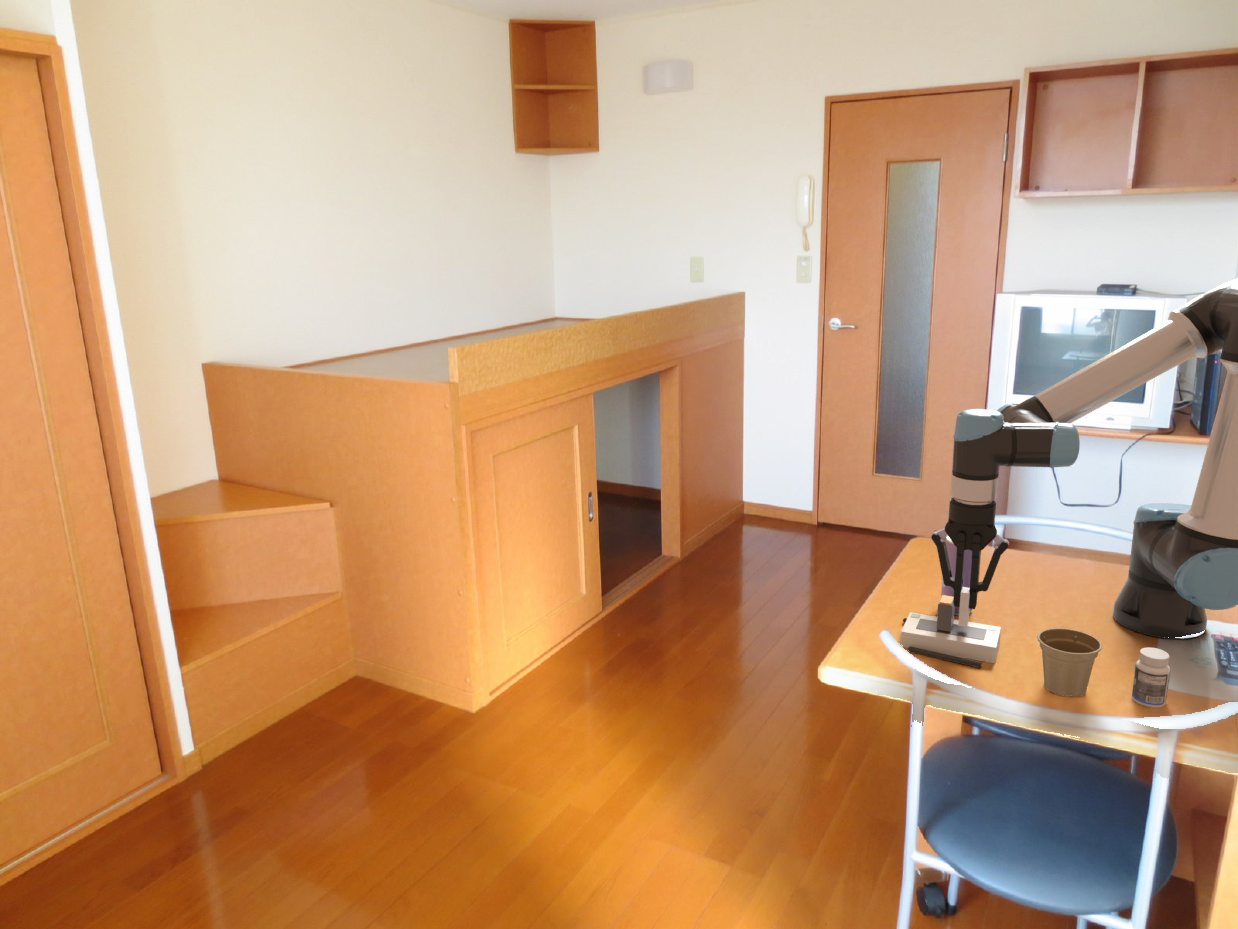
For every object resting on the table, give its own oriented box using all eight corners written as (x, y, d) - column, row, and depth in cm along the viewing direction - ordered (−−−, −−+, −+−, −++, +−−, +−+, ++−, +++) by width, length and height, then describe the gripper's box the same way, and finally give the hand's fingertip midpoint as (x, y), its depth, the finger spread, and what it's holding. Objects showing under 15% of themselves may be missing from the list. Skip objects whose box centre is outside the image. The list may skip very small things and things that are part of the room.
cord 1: (981, 666, 153) (981, 661, 153) (980, 669, 153) (980, 663, 152) (908, 650, 160) (908, 645, 160) (906, 652, 159) (907, 647, 159)
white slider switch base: (999, 642, 162) (1001, 626, 161) (994, 663, 154) (996, 647, 154) (909, 626, 169) (910, 612, 168) (900, 646, 162) (901, 631, 161)
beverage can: (974, 617, 172) (980, 544, 169) (942, 615, 174) (947, 543, 170) (969, 604, 178) (974, 534, 174) (938, 603, 179) (942, 533, 176)
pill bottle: (1138, 690, 144) (1144, 643, 142) (1170, 701, 141) (1177, 653, 138) (1126, 700, 141) (1132, 652, 139) (1158, 712, 138) (1165, 663, 136)
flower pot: (1028, 693, 144) (1032, 645, 142) (1038, 669, 152) (1042, 623, 150) (1092, 708, 139) (1098, 659, 137) (1099, 683, 147) (1105, 635, 144)
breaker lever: (953, 623, 163) (955, 596, 161) (950, 631, 159) (952, 604, 158) (939, 620, 164) (941, 594, 162) (936, 629, 160) (938, 602, 159)
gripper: (1015, 496, 154) (1004, 621, 160) (936, 489, 160) (929, 609, 166) (1012, 509, 147) (1000, 638, 154) (930, 500, 153) (922, 625, 159)
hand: (963, 623), depth 160 cm, fingers closed
